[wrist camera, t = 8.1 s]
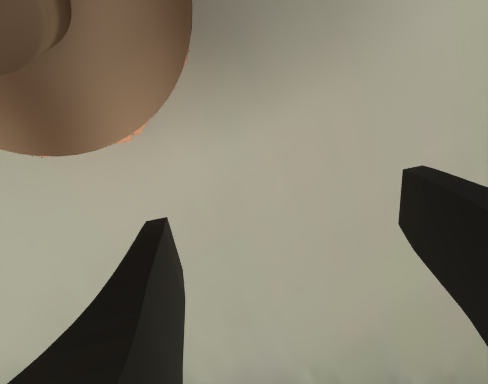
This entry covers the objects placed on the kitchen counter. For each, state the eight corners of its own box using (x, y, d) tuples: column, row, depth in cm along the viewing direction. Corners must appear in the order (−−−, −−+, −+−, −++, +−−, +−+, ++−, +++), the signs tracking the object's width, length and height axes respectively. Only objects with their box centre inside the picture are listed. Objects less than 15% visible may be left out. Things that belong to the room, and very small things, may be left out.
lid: (154, -241, 11) (144, -341, 7) (211, 126, 17) (222, 171, 13) (-268, -205, 10) (-517, -299, 7) (-57, 168, 16) (-126, 229, 12)
